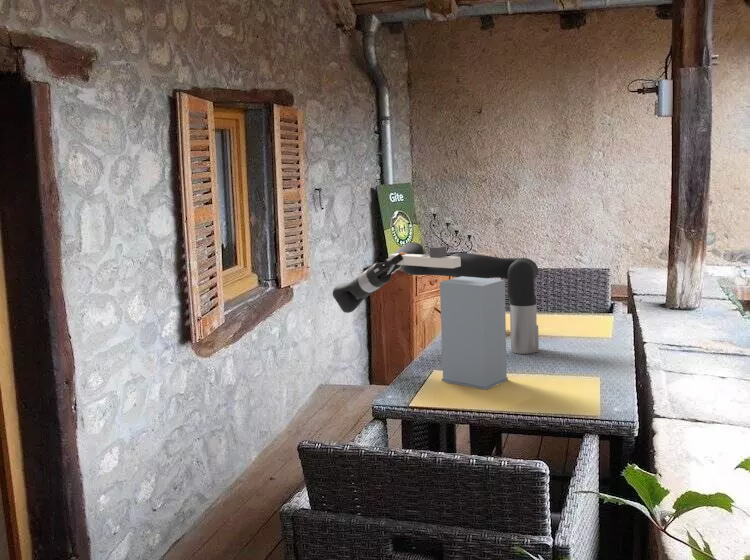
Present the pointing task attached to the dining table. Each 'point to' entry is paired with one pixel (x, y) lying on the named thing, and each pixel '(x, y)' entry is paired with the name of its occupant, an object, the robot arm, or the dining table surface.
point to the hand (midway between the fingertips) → (406, 255)
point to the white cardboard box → (430, 259)
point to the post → (473, 331)
